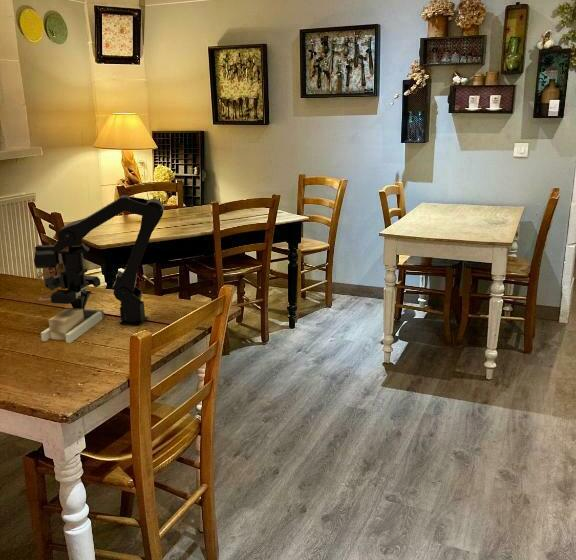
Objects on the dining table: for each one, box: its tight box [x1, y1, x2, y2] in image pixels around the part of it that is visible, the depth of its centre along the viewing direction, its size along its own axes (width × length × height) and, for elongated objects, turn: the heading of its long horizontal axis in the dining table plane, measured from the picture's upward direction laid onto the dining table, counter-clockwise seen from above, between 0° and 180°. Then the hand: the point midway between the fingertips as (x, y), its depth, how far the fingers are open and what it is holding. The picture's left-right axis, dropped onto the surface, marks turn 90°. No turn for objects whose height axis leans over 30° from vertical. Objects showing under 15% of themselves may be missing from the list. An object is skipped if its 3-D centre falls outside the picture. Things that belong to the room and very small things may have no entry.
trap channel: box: [40, 308, 105, 344], centre depth 176 cm, size 9×20×2 cm, turn 170°
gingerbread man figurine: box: [36, 268, 60, 304], centre depth 199 cm, size 9×4×12 cm, turn 104°
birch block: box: [48, 307, 84, 341], centre depth 172 cm, size 5×10×6 cm, turn 169°
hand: (79, 315), depth 178 cm, fingers closed
